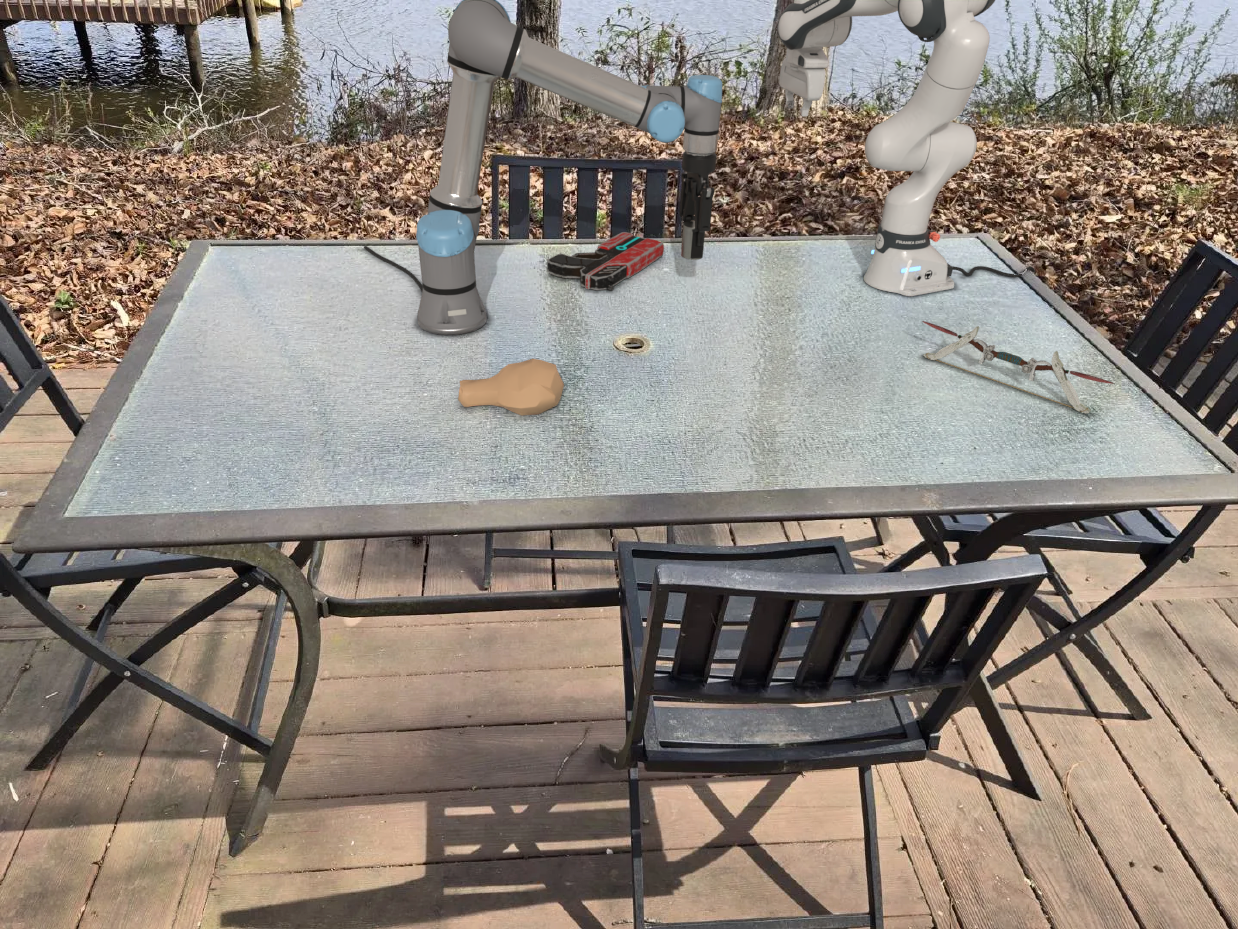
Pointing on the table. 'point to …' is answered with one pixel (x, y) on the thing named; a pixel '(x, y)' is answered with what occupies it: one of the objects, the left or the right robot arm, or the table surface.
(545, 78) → the left robot arm
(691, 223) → the can
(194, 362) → the table surface
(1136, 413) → the table surface
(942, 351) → the bow
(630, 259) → the gun
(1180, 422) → the table surface
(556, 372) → the squash
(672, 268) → the table surface
